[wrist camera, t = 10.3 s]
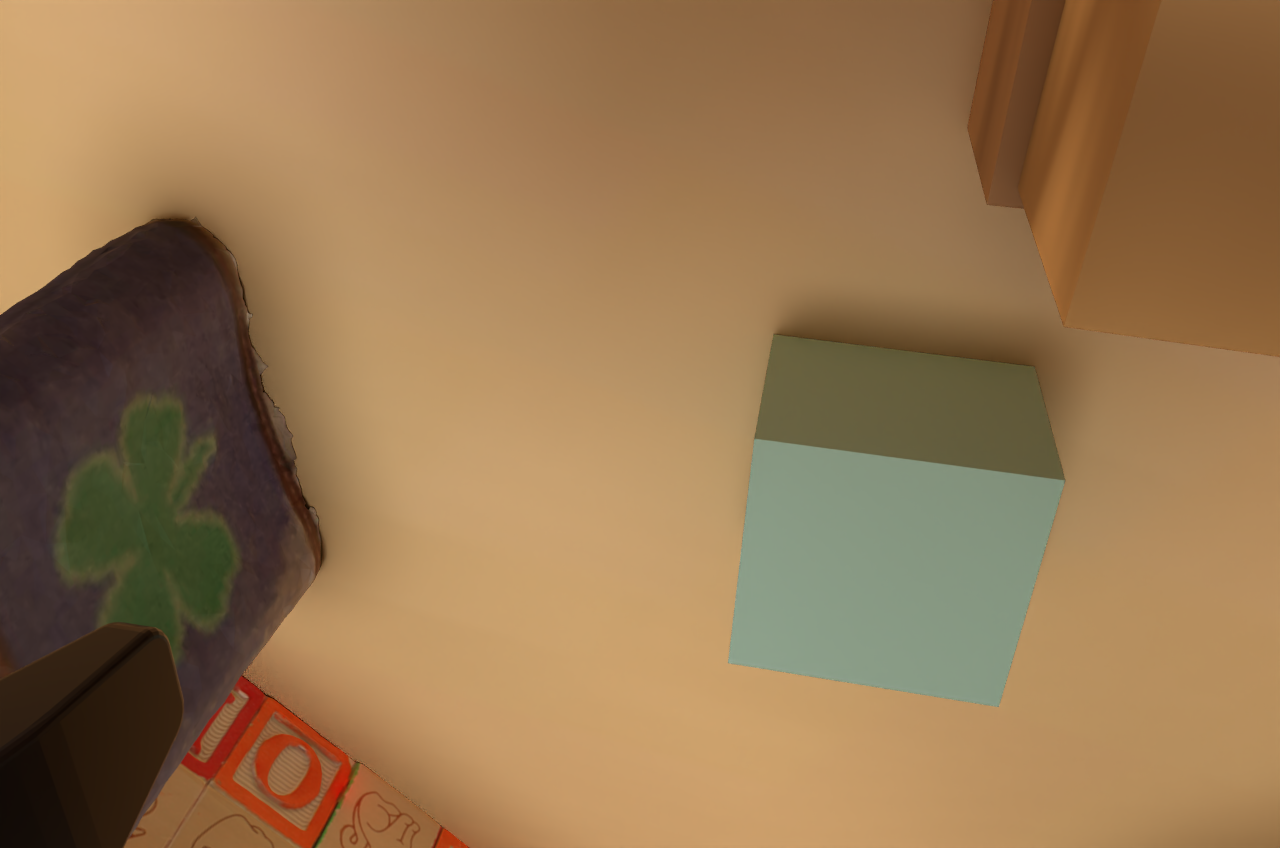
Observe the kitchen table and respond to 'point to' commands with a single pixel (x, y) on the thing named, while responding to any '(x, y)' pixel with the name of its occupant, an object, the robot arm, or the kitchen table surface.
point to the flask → (147, 468)
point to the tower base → (894, 518)
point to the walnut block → (1010, 92)
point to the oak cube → (1162, 171)
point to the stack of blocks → (278, 790)
